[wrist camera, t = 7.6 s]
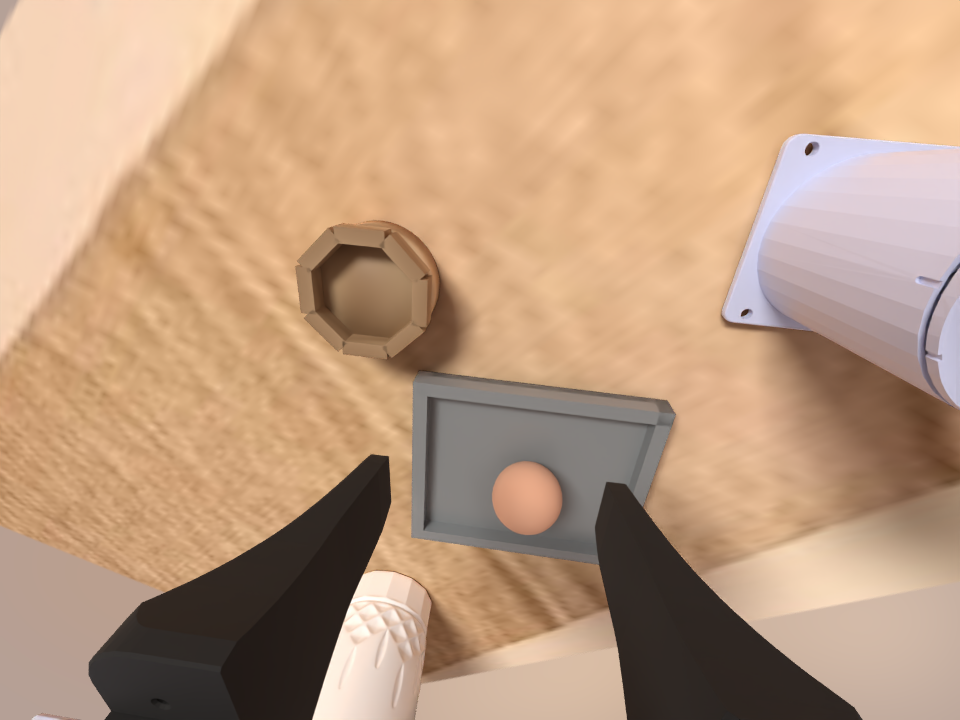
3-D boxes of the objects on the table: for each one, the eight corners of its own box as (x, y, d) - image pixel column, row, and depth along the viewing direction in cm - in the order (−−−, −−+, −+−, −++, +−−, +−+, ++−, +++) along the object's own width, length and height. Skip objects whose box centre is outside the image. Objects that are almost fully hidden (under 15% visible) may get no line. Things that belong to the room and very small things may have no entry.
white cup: (459, 607, 32) (433, 779, 23) (392, 638, 34) (346, 803, 25) (388, 549, 30) (329, 714, 21) (324, 587, 32) (247, 747, 23)
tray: (667, 400, 22) (675, 414, 21) (617, 549, 27) (621, 567, 26) (419, 370, 23) (413, 381, 22) (416, 521, 28) (411, 537, 27)
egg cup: (442, 226, 19) (428, 235, 17) (437, 340, 22) (425, 363, 19) (322, 214, 20) (290, 221, 17) (332, 328, 22) (305, 349, 19)
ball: (549, 440, 23) (555, 490, 20) (566, 491, 25) (573, 545, 21) (485, 454, 24) (479, 504, 21) (505, 502, 26) (502, 556, 22)
